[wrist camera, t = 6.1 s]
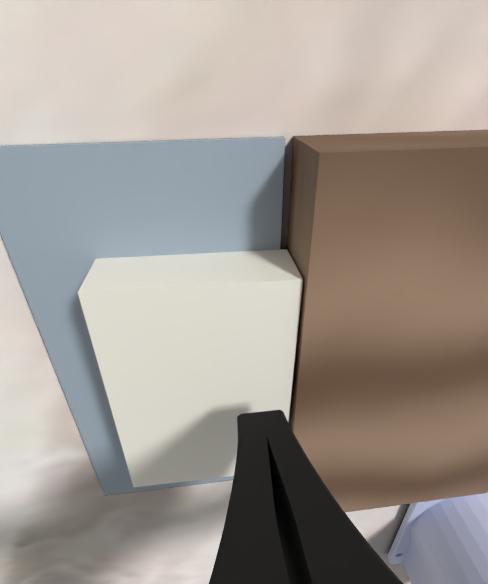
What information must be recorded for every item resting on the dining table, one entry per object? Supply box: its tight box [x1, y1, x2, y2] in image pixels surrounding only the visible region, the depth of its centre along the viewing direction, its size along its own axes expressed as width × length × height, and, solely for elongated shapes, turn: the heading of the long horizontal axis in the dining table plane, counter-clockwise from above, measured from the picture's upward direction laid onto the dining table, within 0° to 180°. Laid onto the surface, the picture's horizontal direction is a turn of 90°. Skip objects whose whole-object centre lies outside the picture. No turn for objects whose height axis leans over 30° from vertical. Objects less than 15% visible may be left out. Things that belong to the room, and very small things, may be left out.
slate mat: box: [0, 137, 285, 496], centre depth 14 cm, size 16×8×1 cm, turn 1°
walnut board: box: [287, 130, 488, 512], centre depth 14 cm, size 16×10×2 cm, turn 1°
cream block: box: [78, 249, 303, 487], centre depth 13 cm, size 9×6×2 cm, turn 0°
